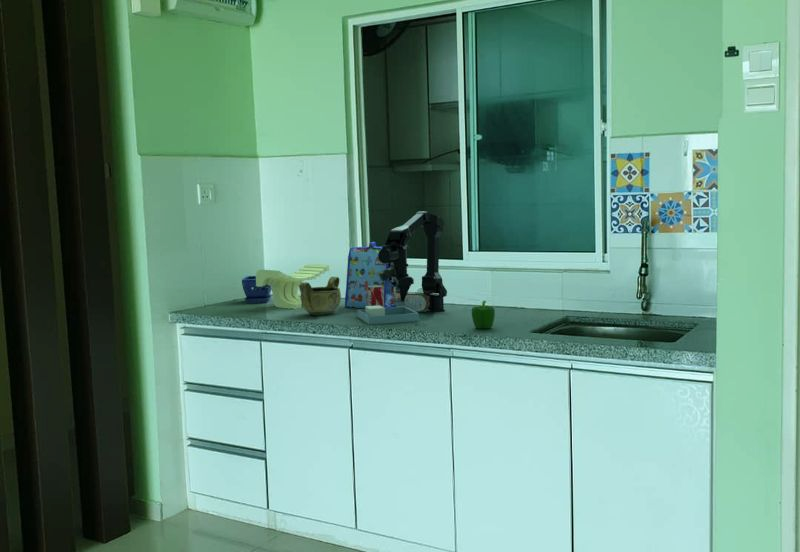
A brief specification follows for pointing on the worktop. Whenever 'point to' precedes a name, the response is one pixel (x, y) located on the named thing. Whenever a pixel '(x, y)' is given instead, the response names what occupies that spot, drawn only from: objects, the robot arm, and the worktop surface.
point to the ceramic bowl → (321, 297)
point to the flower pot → (255, 291)
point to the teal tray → (390, 316)
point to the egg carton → (374, 310)
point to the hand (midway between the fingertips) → (400, 300)
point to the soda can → (375, 295)
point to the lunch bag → (366, 276)
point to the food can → (398, 298)
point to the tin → (417, 301)
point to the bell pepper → (483, 316)
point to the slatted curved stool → (288, 283)
